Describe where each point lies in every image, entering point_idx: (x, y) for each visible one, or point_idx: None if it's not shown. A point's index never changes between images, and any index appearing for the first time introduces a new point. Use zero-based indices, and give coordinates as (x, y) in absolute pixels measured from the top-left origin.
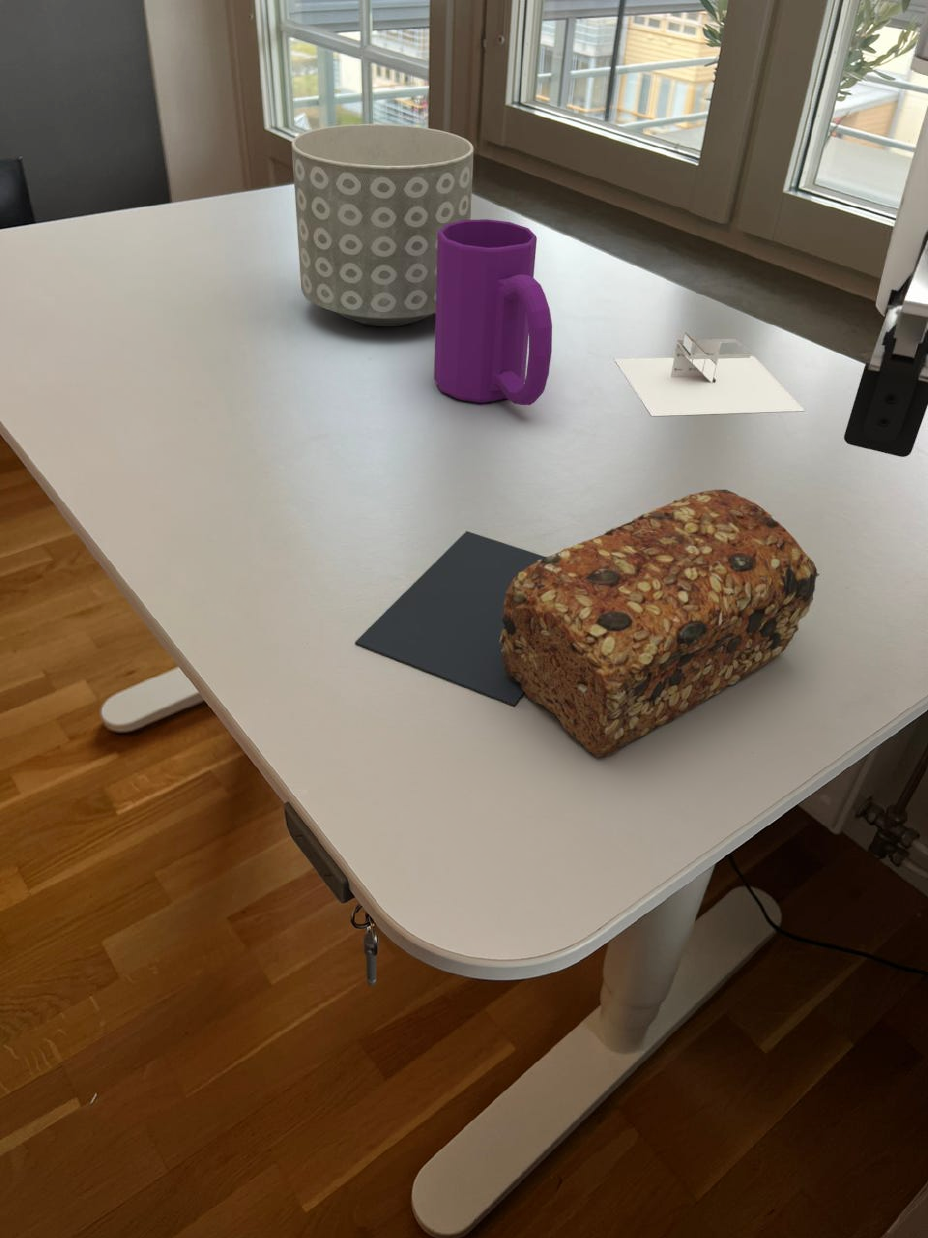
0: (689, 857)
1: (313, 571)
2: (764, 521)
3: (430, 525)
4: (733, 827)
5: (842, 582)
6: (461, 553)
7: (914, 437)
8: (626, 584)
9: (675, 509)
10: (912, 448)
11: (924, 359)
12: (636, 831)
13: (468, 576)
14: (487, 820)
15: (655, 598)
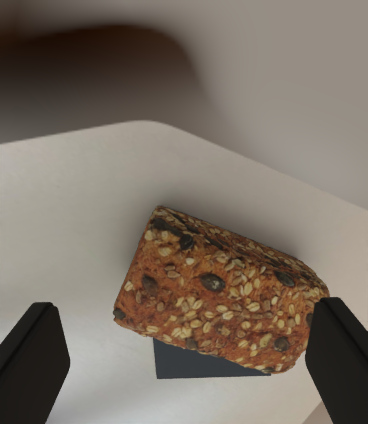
0: (341, 201)
1: (230, 410)
2: (155, 286)
3: (161, 392)
4: (313, 188)
5: (53, 190)
6: (178, 372)
7: (353, 317)
8: (284, 332)
9: (178, 338)
10: (344, 303)
11: (43, 356)
12: (334, 227)
13: (194, 361)
14: (353, 283)
15: (282, 312)
